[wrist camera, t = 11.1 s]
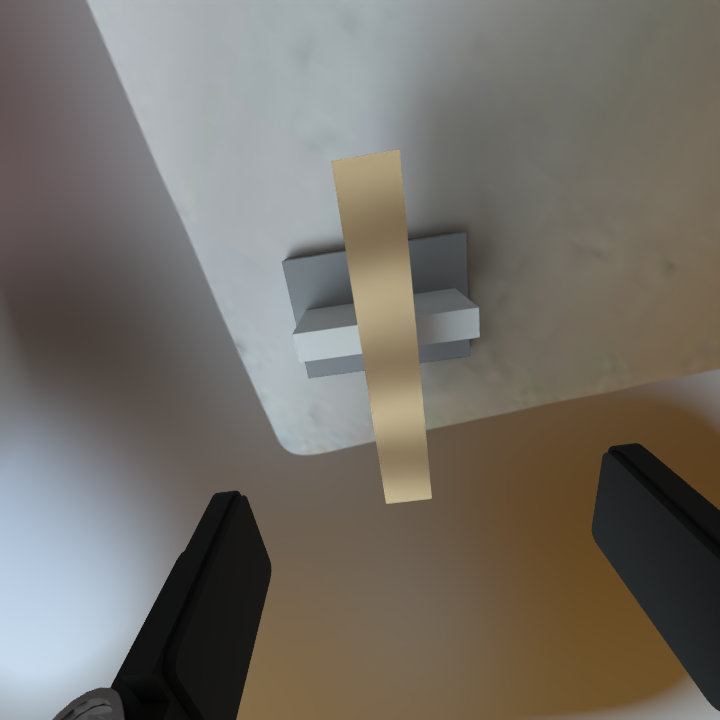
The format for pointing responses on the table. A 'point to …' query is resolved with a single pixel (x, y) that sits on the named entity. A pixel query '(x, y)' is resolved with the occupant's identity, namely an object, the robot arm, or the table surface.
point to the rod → (385, 316)
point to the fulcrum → (338, 317)
